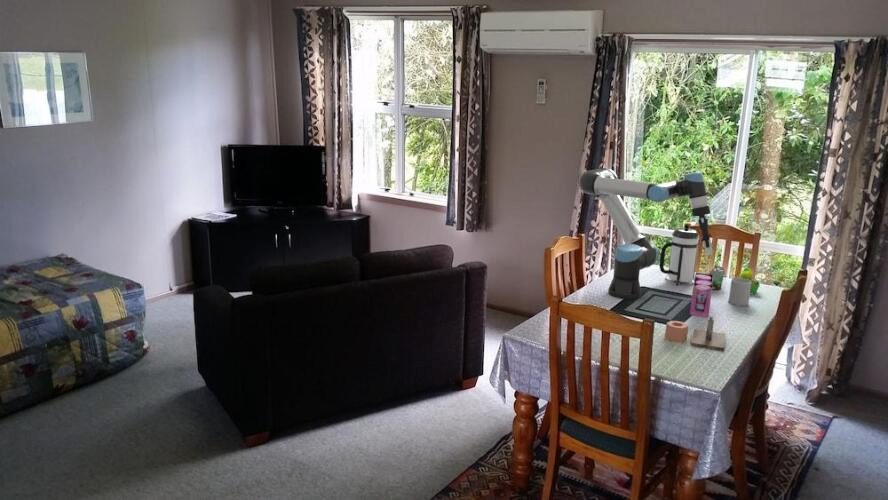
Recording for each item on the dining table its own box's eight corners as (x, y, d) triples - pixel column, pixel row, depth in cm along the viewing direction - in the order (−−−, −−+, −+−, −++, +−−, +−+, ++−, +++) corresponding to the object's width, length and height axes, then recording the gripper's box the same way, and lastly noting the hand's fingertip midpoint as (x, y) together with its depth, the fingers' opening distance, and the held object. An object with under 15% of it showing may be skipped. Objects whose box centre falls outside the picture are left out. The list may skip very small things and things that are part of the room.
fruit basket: (732, 292, 326) (735, 270, 324) (732, 287, 334) (735, 265, 332) (758, 295, 323) (761, 272, 320) (757, 290, 331) (760, 268, 328)
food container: (720, 292, 325) (723, 273, 322) (707, 290, 328) (709, 270, 325) (725, 286, 335) (728, 267, 332) (712, 284, 338) (715, 265, 336)
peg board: (690, 345, 261) (693, 320, 258) (693, 331, 275) (696, 308, 273) (724, 350, 257) (727, 325, 254) (724, 336, 271) (728, 312, 268)
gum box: (708, 319, 290) (712, 289, 286) (689, 316, 293) (692, 286, 289) (710, 302, 311) (713, 274, 308) (691, 299, 314) (695, 272, 311)
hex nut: (686, 343, 263) (687, 329, 261) (663, 339, 266) (665, 325, 265) (687, 337, 269) (689, 323, 268) (665, 333, 273) (667, 319, 271)
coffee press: (668, 275, 351) (674, 219, 344) (699, 281, 342) (706, 223, 335) (657, 283, 338) (663, 225, 330) (689, 289, 329) (696, 229, 321)
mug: (748, 307, 306) (751, 284, 303) (727, 304, 309) (730, 281, 306) (748, 299, 316) (752, 277, 313) (729, 296, 320) (732, 274, 317)
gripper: (708, 206, 287) (718, 254, 288) (708, 203, 310) (718, 248, 311) (690, 209, 290) (700, 257, 290) (691, 207, 313) (700, 251, 313)
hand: (709, 253), depth 301 cm, fingers open, 13 cm apart
